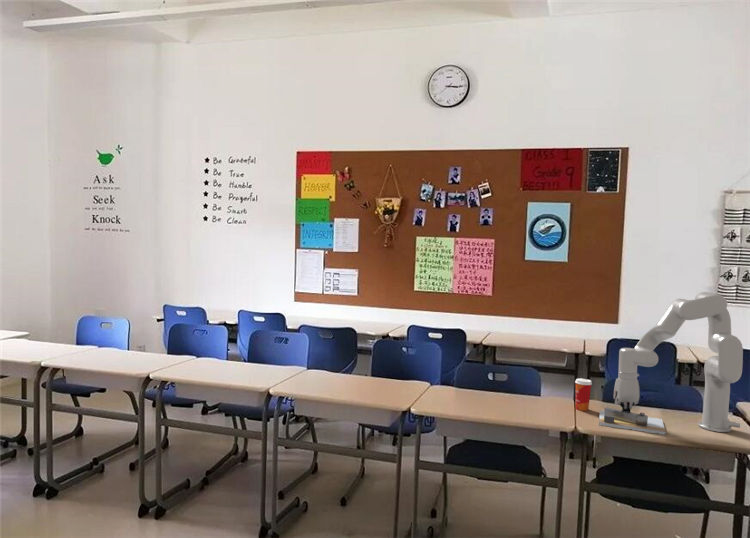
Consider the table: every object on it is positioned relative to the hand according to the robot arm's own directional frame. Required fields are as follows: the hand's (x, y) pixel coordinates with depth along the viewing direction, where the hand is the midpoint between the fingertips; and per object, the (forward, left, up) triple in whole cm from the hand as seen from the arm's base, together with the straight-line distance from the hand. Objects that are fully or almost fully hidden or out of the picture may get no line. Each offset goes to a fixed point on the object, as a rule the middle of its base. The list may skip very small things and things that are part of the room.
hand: (626, 417), depth 262 cm
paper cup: (+19, -11, -2) cm, 22 cm away
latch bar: (0, +4, 0) cm, 4 cm away
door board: (-2, +1, -2) cm, 3 cm away
